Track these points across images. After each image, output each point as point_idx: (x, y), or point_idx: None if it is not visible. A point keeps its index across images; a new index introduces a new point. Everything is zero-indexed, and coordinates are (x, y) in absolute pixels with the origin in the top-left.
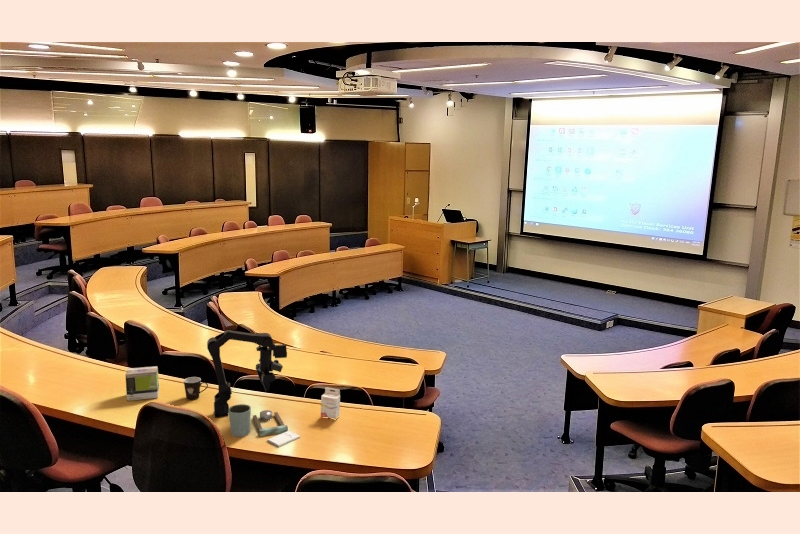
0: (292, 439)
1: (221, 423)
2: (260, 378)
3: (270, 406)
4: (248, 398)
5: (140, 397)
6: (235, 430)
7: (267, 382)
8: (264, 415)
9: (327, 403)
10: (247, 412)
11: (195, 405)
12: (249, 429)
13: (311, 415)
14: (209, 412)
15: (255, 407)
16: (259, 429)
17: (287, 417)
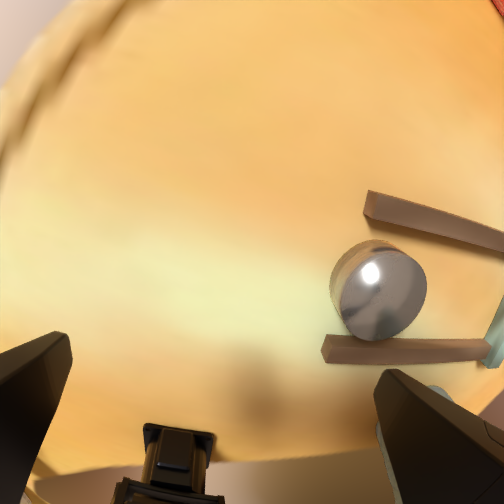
0: None
1: (279, 458)
2: (25, 463)
3: (184, 172)
4: (5, 270)
5: (23, 496)
6: None
7: (485, 497)
8: (411, 320)
9: None
10: None
11: (62, 458)
12: (447, 396)
13: (468, 22)
14: (139, 460)
15: (151, 285)
16: (490, 367)
17: (438, 149)
